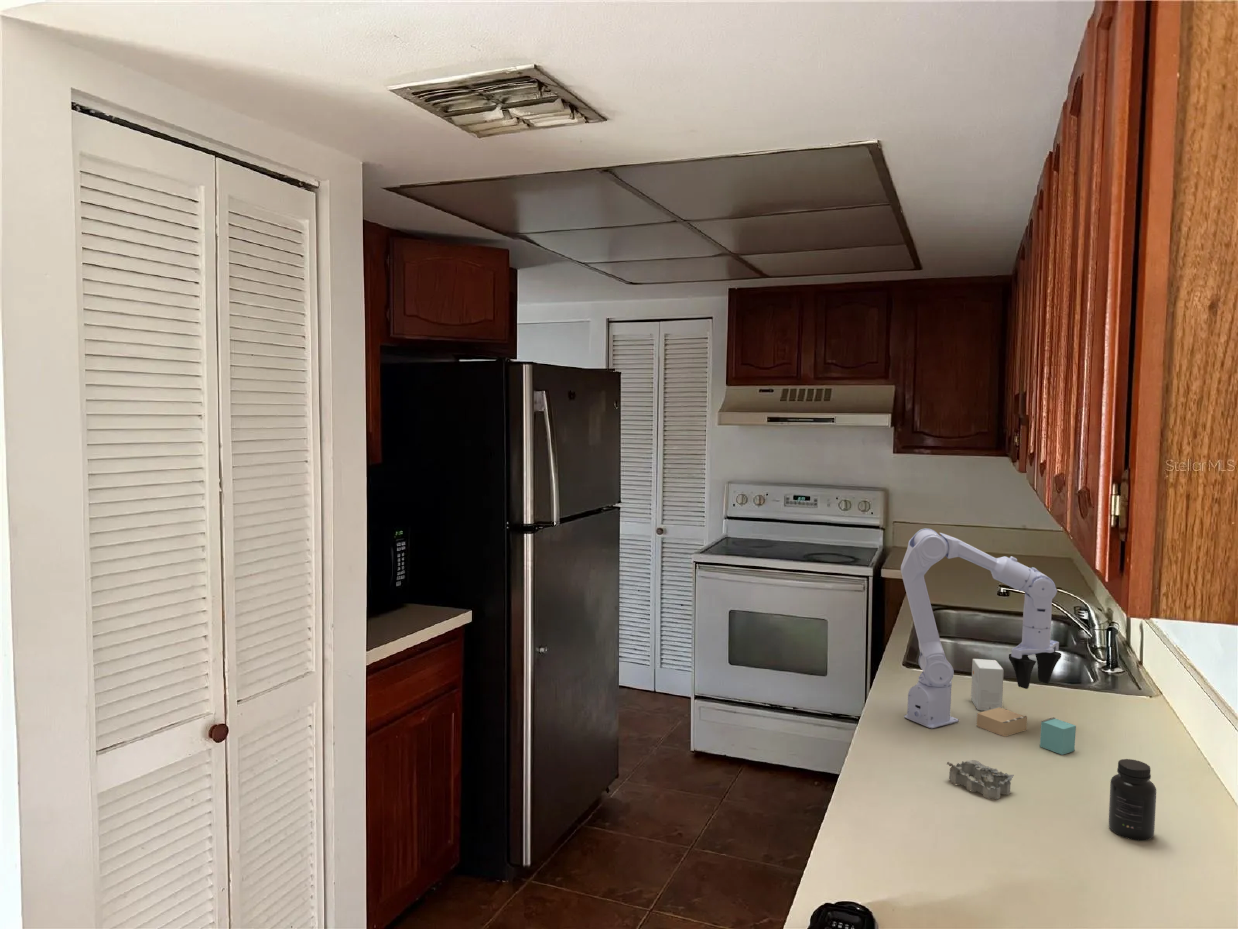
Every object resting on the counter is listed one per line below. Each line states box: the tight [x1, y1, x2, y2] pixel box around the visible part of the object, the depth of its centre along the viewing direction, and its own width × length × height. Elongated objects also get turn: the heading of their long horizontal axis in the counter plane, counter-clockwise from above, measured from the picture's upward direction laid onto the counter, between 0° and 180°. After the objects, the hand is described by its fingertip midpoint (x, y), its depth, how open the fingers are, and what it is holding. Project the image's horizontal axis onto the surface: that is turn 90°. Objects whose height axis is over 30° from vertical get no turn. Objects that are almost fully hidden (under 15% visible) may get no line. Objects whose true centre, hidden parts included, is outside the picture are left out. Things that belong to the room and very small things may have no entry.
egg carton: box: [946, 759, 1015, 800], centre depth 164 cm, size 11×8×4 cm
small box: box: [970, 658, 1005, 712], centre depth 208 cm, size 8×6×10 cm
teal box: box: [1039, 717, 1077, 755], centre depth 182 cm, size 4×5×6 cm
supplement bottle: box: [1108, 758, 1157, 841], centre depth 147 cm, size 7×7×12 cm
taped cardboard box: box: [976, 707, 1028, 737], centre depth 194 cm, size 8×7×3 cm
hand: (1033, 684), depth 194 cm, fingers open, 7 cm apart
